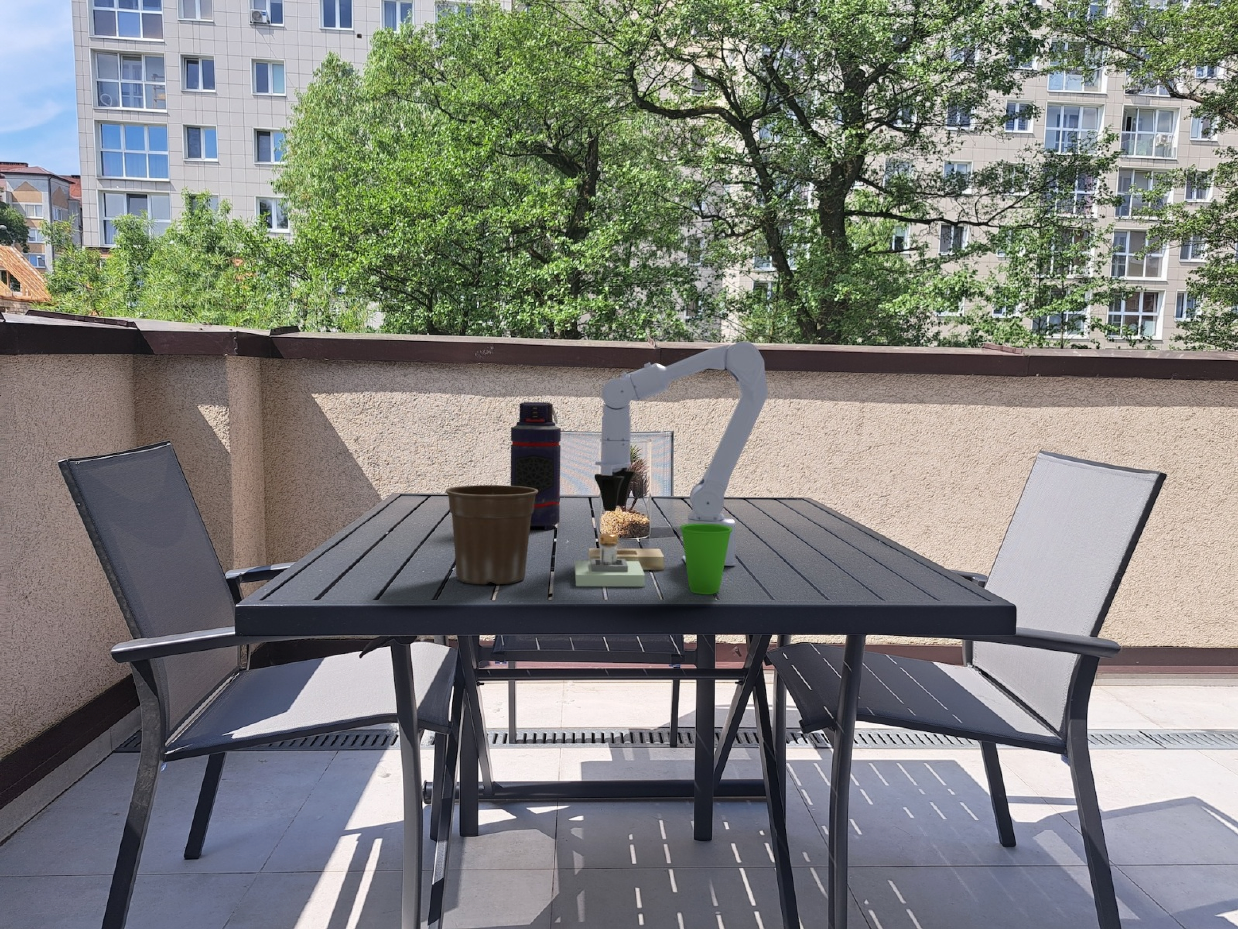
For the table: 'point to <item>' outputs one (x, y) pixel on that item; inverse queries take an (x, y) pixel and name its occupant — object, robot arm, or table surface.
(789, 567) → the table surface
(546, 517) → the red-banded navy canister
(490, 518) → the plant pot
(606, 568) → the socket
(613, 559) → the pin
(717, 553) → the cup
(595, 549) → the mount
